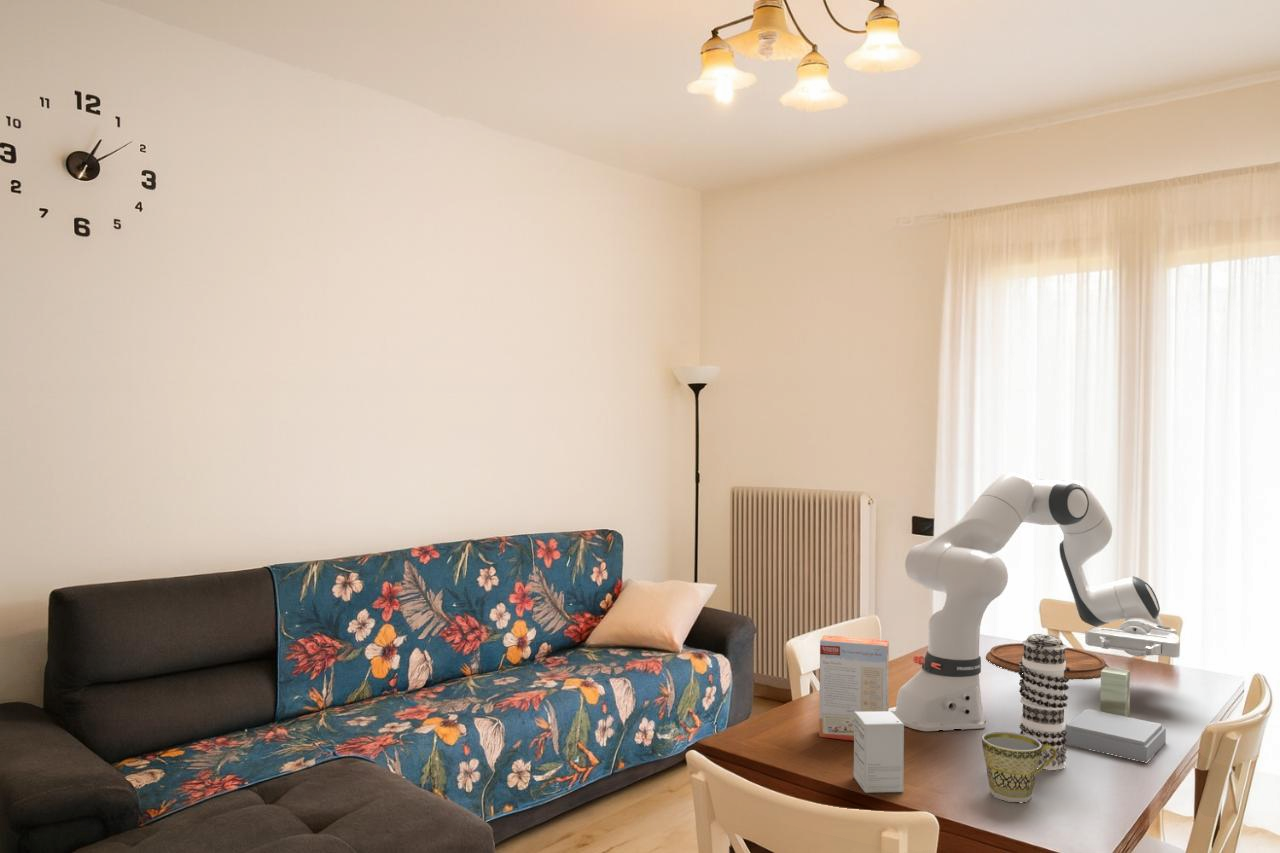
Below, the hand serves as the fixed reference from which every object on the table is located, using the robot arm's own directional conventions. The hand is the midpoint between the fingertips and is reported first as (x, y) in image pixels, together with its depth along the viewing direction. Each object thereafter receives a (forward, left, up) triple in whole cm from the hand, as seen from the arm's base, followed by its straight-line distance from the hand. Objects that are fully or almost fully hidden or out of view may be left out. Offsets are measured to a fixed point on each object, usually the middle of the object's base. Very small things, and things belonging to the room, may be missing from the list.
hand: (1126, 648), depth 211 cm
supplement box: (-83, -16, -15) cm, 86 cm away
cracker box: (-72, +7, -15) cm, 74 cm away
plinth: (-22, -15, -15) cm, 30 cm away
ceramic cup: (-62, -29, -15) cm, 70 cm away
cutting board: (+16, +39, -15) cm, 45 cm away
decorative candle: (-45, -18, -15) cm, 51 cm away
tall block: (-11, -6, -15) cm, 19 cm away
